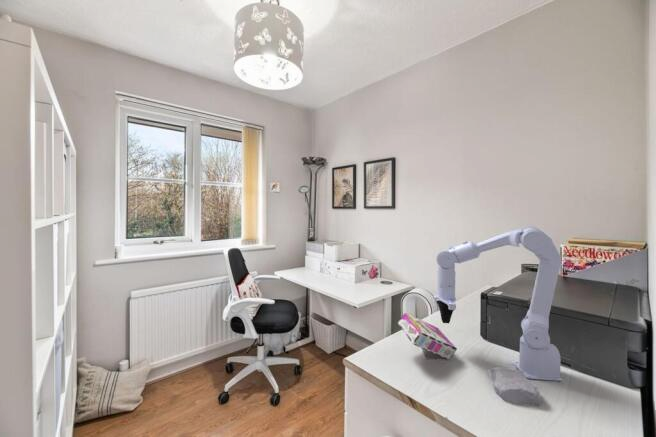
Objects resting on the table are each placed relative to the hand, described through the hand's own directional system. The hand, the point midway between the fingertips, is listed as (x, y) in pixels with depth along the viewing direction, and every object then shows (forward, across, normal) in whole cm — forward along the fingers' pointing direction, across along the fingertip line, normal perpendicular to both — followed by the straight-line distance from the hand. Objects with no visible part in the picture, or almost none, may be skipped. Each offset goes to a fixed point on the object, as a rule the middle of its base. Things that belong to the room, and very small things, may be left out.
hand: (445, 322), depth 97 cm
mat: (+10, 0, -4) cm, 11 cm away
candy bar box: (+7, +1, -1) cm, 7 cm away
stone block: (+10, +19, +12) cm, 25 cm away
